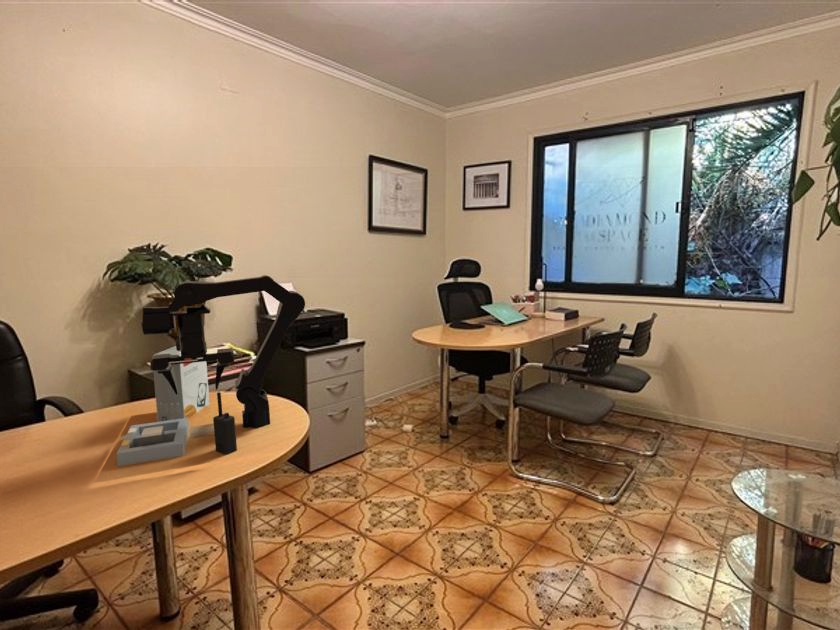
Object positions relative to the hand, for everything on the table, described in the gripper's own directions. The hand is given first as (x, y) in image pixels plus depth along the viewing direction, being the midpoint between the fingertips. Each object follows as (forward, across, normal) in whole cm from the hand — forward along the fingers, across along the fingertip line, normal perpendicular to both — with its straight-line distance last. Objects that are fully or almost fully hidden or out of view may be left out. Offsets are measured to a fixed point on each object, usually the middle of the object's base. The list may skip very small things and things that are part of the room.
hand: (197, 391), depth 118 cm
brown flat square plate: (+12, -1, -1) cm, 12 cm away
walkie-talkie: (+12, -6, +14) cm, 20 cm away
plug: (+11, +9, +8) cm, 17 cm away
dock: (+12, +10, +4) cm, 16 cm away
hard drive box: (+12, +5, -18) cm, 22 cm away
